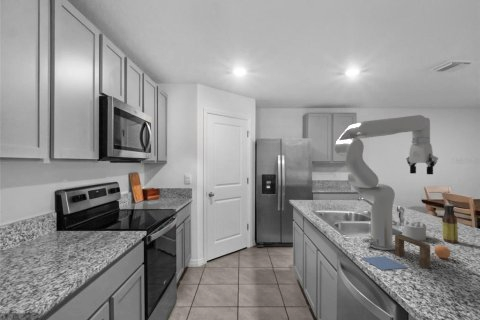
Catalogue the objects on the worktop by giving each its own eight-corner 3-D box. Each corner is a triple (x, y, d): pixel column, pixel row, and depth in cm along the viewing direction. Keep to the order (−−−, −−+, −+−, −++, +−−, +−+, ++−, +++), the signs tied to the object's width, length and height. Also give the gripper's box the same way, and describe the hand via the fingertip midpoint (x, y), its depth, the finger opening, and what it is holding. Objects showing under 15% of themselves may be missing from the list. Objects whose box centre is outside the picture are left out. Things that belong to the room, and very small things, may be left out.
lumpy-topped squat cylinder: (425, 236, 140) (425, 221, 140) (426, 242, 130) (426, 226, 130) (404, 233, 146) (404, 218, 146) (402, 238, 136) (402, 223, 136)
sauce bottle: (452, 239, 133) (451, 203, 133) (461, 243, 127) (461, 205, 127) (439, 239, 134) (439, 203, 134) (447, 243, 127) (447, 205, 128)
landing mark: (381, 270, 96) (381, 269, 96) (361, 258, 107) (361, 257, 107) (407, 268, 98) (407, 267, 98) (384, 256, 110) (384, 256, 110)
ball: (443, 261, 105) (443, 248, 105) (431, 256, 110) (431, 244, 110) (453, 260, 106) (453, 247, 106) (441, 255, 111) (441, 243, 111)
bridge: (424, 268, 98) (424, 245, 98) (395, 254, 112) (395, 234, 112) (430, 267, 98) (430, 244, 98) (400, 254, 112) (400, 234, 113)
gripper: (401, 142, 135) (401, 173, 135) (430, 139, 118) (430, 174, 118) (412, 142, 137) (412, 173, 136) (443, 140, 120) (443, 174, 119)
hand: (421, 173), depth 127 cm, fingers open, 9 cm apart
